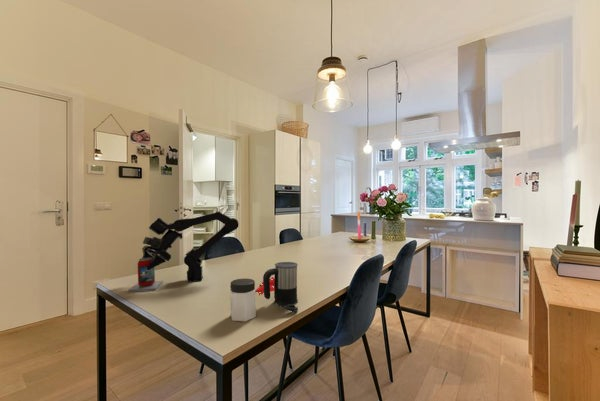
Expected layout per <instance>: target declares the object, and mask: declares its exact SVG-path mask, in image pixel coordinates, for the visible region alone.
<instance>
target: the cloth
mask: <svg viewBox="0 0 600 401" xmlns="http://www.w3.org/2000/svg"><path fill="white" fill-rule="evenodd" d="M271 279H273V280H271ZM261 283H262V284H263V281H262V282H261ZM272 286H274V276H271V277H270V293H271V292H274V288H273V287H272ZM256 292H258V293H257V294H259V295H258V296H261V295H264V294H263V293H264V286H263V285H261V286H260V285H259V287H257V288H256V289H255V293H256ZM259 292H261V293H259ZM260 294H261V295H260Z"/></svg>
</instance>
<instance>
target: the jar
mask: <svg viewBox="0 0 600 401" xmlns="http://www.w3.org/2000/svg"><path fill="white" fill-rule="evenodd" d="M255 283H256V282H255V280H254V279H252V278H237V279H233V280H232V281H231V282H230V317H231V321H233V322H247V321H250V320H252V319H254V318H256V292H255V290H256V289H255V285H256V284H255Z"/></svg>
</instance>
